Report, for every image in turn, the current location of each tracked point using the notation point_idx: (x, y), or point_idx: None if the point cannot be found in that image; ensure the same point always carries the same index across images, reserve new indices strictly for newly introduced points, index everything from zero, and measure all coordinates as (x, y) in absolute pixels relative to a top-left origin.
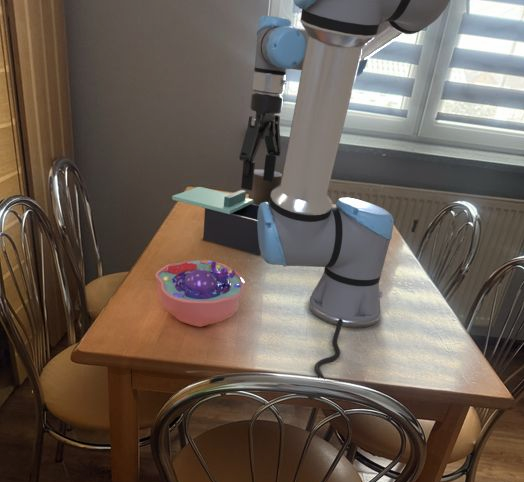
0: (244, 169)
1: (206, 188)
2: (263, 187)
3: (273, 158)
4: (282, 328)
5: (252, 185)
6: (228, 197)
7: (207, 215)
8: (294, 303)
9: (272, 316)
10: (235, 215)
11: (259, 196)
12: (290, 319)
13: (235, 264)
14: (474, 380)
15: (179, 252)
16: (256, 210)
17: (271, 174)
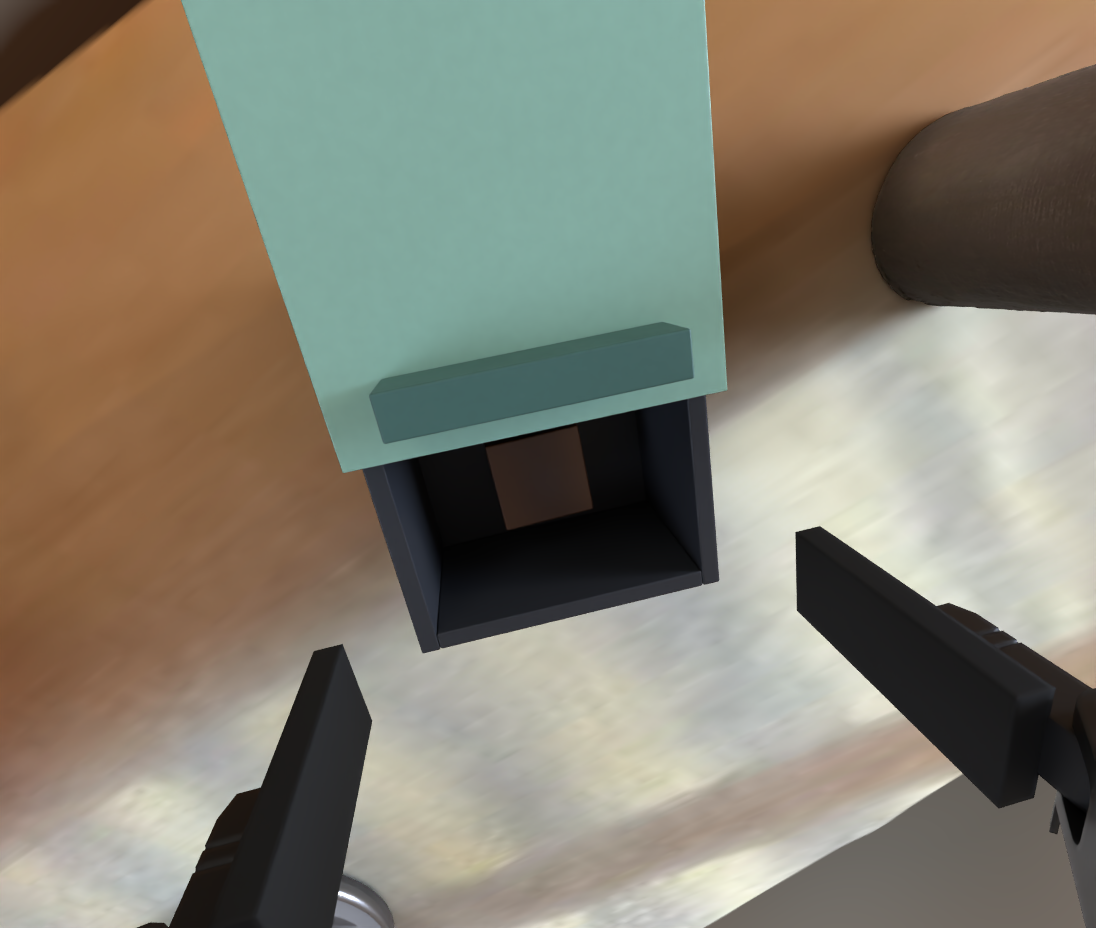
0: (204, 875)
1: None
2: (1072, 245)
3: (974, 767)
4: (23, 923)
5: (362, 753)
6: (382, 430)
7: None
8: (194, 855)
9: (49, 874)
10: (372, 496)
11: (999, 226)
12: (92, 904)
13: (254, 565)
14: None
15: (83, 306)
16: (676, 426)
17: (838, 635)
